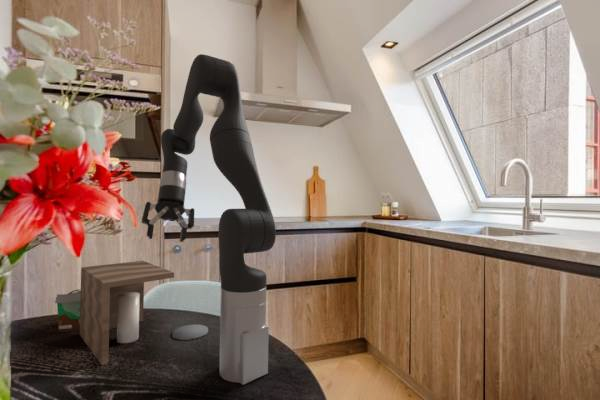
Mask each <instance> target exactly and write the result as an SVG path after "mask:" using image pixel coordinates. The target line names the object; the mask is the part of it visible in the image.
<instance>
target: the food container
mask: <svg viewBox="0 0 600 400" xmlns="http://www.w3.org/2000/svg"><path fill="white" fill-rule="evenodd" d="M80 302H81V288H80V289H74V290H72V291H70V292H68V293H65V294H62V293H61V294H59V293H57V294H56V297H55V302H54V303H55V304H56V306H57V308H56V309H57V322H58V332H59V333H60V332H62V333H64V332H65V333H66V332H72V331H77V330H80Z"/></svg>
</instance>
